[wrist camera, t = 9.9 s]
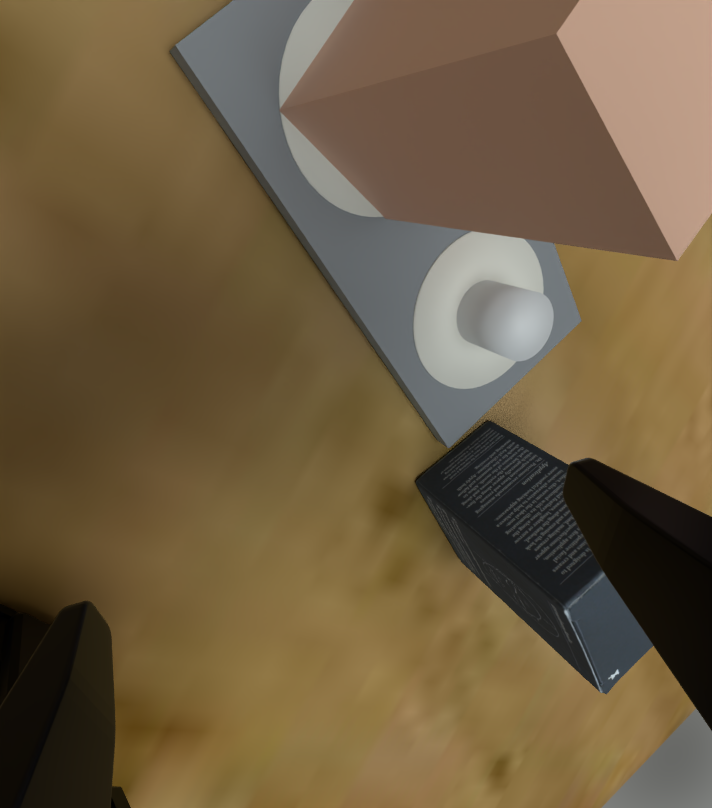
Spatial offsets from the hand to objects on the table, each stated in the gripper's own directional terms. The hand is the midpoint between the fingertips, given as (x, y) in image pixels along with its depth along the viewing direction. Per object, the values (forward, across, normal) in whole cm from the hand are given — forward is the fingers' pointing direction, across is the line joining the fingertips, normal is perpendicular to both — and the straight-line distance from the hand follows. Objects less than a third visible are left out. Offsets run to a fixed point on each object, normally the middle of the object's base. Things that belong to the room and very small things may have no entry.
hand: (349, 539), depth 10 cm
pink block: (+15, -6, -4) cm, 16 cm away
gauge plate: (+15, -8, 0) cm, 17 cm away
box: (+13, -10, +16) cm, 23 cm away
